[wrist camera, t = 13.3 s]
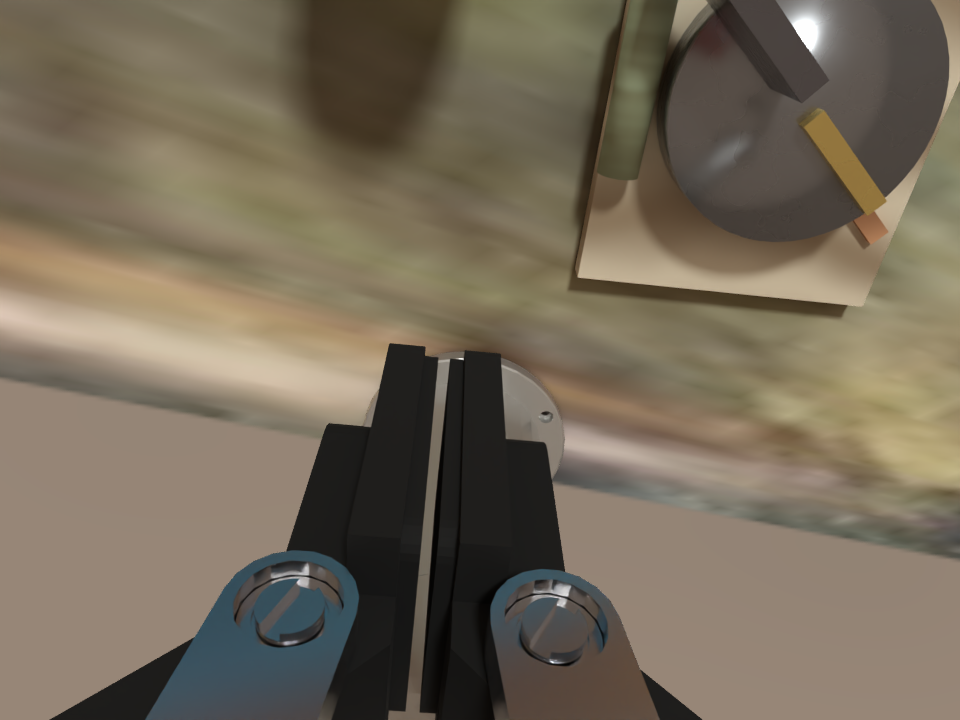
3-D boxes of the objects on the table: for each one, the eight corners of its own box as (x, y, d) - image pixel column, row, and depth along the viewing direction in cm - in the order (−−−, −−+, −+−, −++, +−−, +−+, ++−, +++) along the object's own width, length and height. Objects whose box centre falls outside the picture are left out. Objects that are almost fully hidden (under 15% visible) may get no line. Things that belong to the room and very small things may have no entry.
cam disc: (973, 3, 31) (1073, 13, 26) (832, 250, 36) (890, 299, 31) (668, -105, 29) (710, -117, 23) (570, 176, 34) (587, 215, 29)
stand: (852, 297, 40) (881, 323, 37) (569, 268, 39) (577, 293, 36) (1030, -129, 30) (1089, -137, 27) (654, -182, 29) (674, -198, 26)
